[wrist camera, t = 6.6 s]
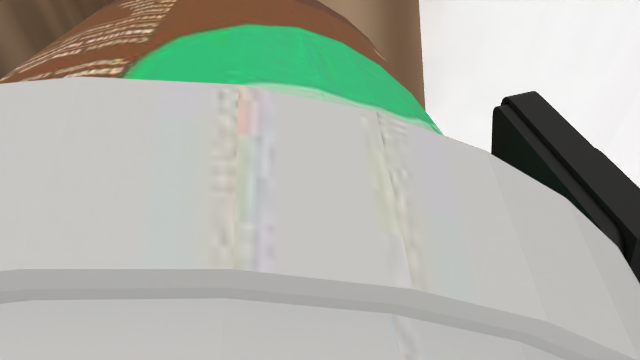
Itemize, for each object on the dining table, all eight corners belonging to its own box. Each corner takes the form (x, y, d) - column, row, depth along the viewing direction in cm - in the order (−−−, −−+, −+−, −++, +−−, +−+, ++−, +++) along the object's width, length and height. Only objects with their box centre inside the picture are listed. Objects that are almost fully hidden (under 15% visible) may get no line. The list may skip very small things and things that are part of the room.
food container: (496, 226, 16) (753, 659, 8) (320, 296, 17) (384, 741, 9) (344, -237, 9) (1775, -1019, 1) (54, -66, 10) (-955, 554, 2)
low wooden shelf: (377, -343, 18) (618, -649, 6) (413, 121, 30) (519, 324, 18) (10, -256, 18) (-444, -385, 6) (190, 169, 30) (148, 400, 18)
